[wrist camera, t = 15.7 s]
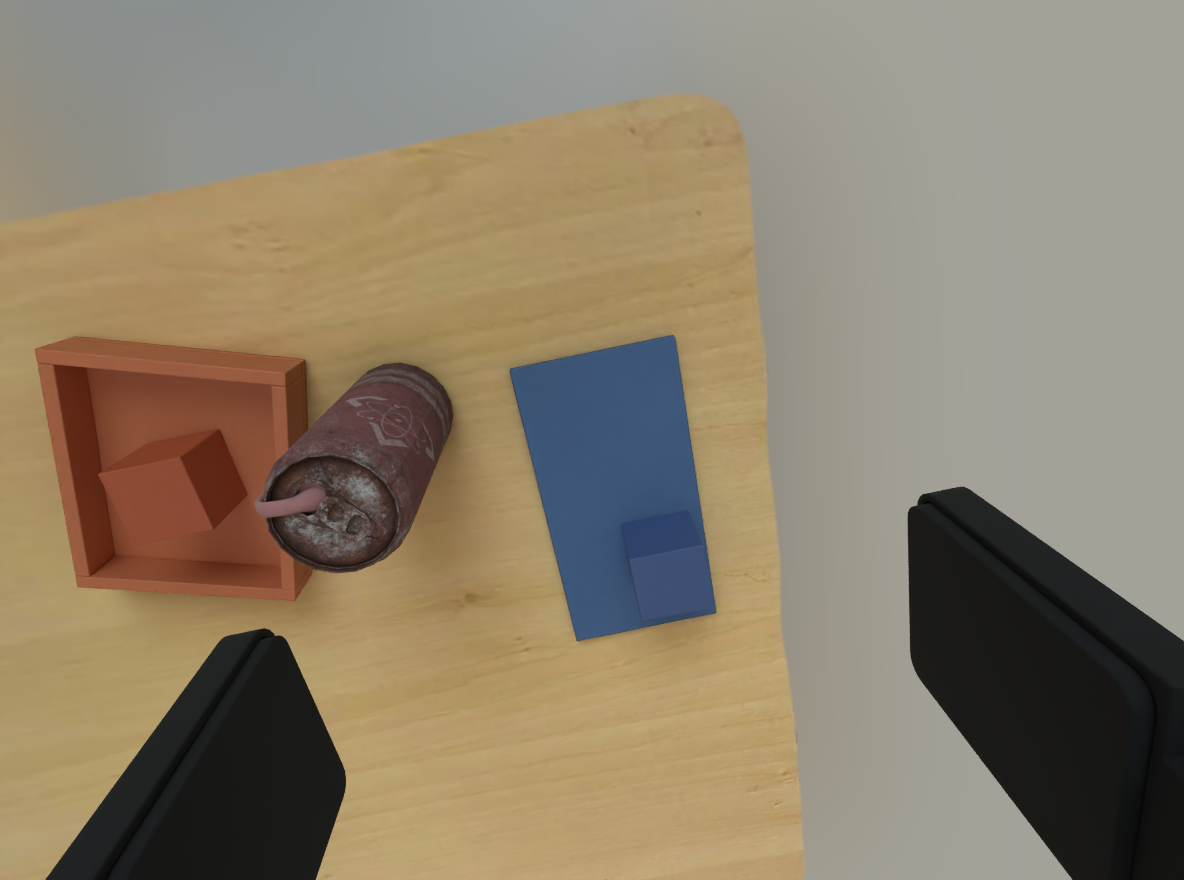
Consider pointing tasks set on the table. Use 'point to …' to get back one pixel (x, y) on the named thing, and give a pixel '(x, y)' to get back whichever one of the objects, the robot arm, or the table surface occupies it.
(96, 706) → the table surface
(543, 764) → the table surface
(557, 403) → the blue mat
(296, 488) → the can
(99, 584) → the terracotta tray
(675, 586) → the blue block
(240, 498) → the terracotta block
